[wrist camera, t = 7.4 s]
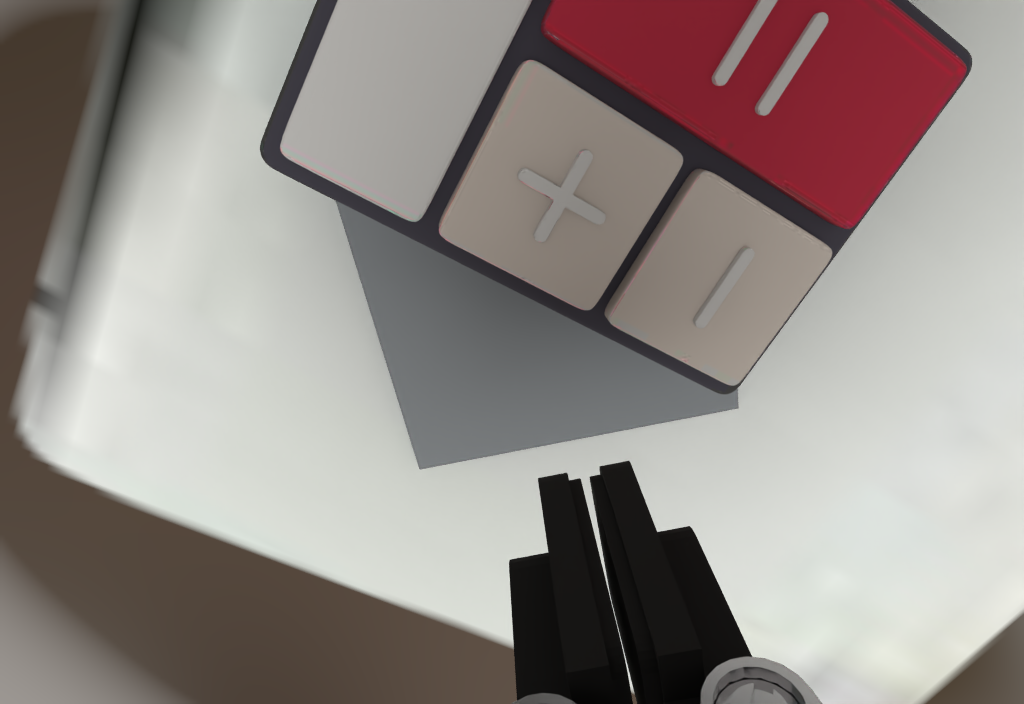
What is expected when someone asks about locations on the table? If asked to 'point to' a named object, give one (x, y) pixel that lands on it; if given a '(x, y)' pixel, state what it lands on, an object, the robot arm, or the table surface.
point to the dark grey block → (621, 148)
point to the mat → (500, 359)
